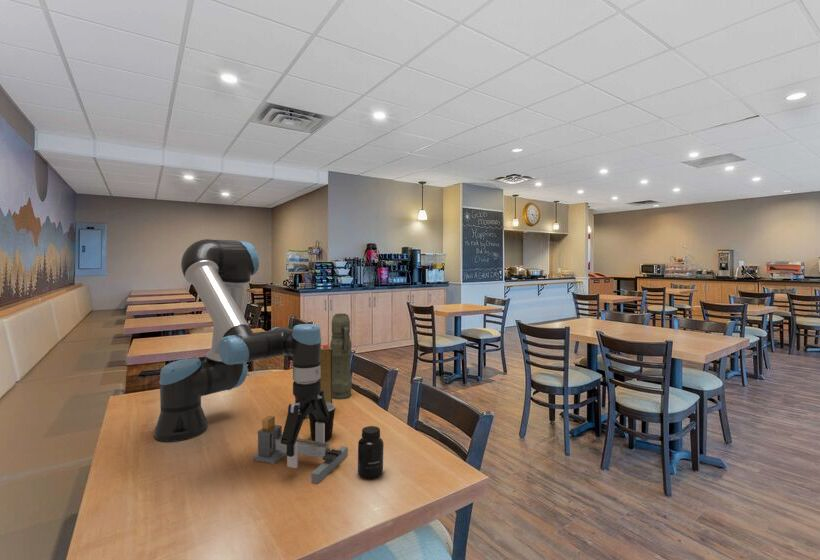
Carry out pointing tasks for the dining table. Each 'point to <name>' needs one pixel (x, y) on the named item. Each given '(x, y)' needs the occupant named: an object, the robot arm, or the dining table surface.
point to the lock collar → (268, 436)
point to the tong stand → (317, 473)
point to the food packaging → (325, 373)
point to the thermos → (341, 357)
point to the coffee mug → (327, 425)
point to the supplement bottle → (370, 453)
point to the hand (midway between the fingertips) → (307, 455)
